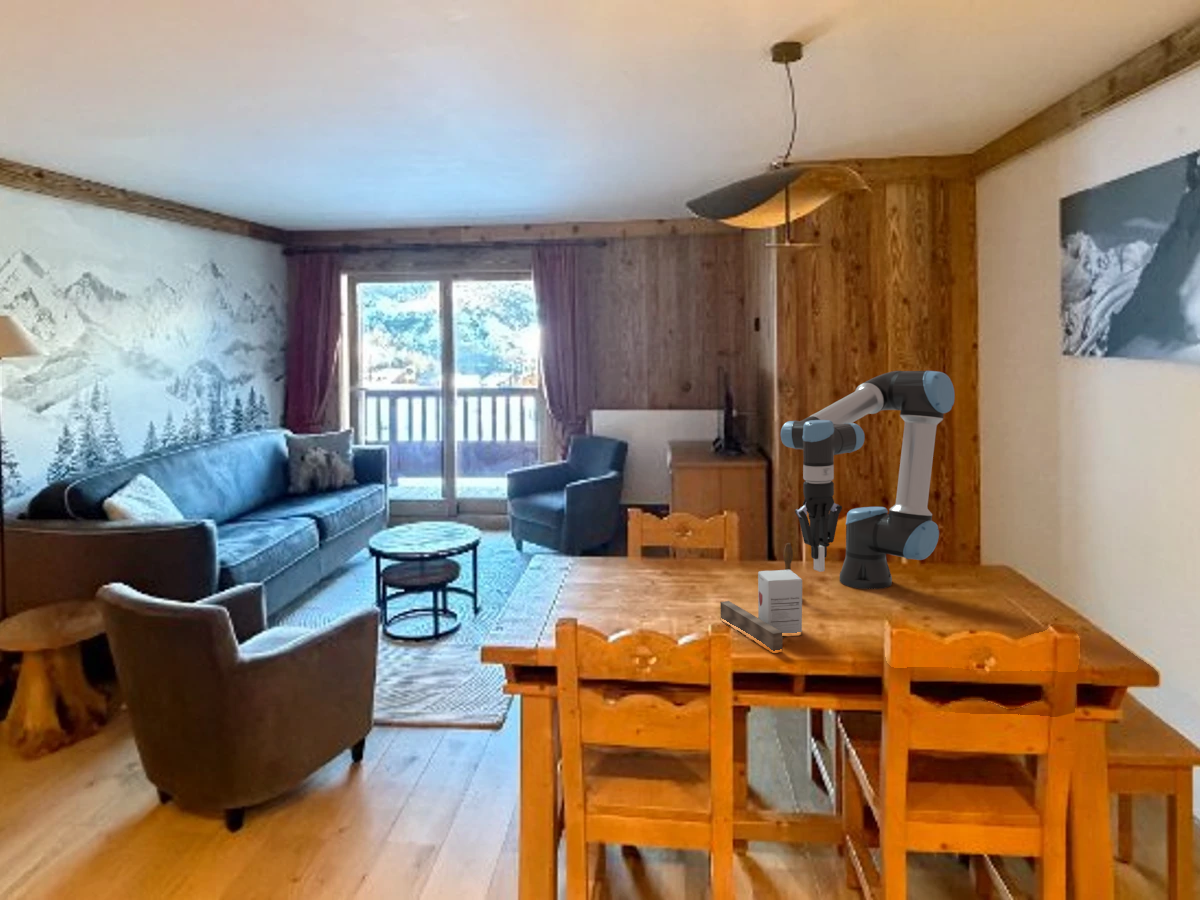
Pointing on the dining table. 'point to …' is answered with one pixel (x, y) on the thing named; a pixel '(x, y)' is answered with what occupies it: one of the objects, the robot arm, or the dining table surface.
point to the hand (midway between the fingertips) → (819, 570)
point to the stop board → (752, 625)
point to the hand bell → (788, 556)
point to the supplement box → (780, 600)
